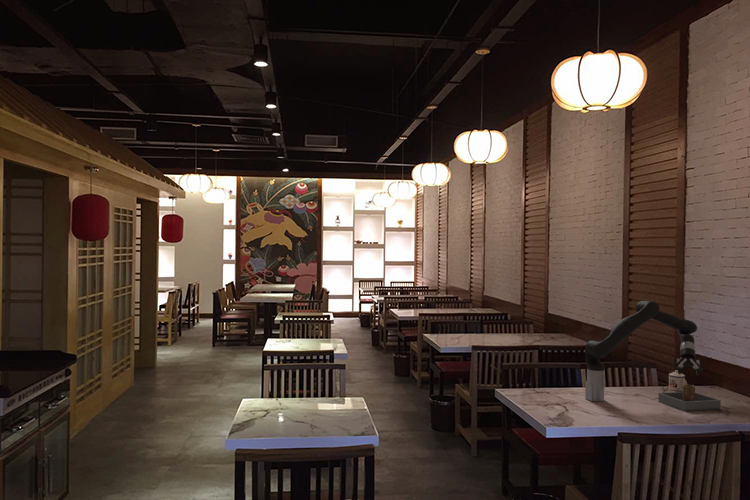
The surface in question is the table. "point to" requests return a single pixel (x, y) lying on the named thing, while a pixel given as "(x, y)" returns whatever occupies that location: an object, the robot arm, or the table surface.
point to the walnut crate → (688, 392)
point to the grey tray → (689, 402)
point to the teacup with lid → (676, 381)
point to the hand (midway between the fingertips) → (688, 374)
